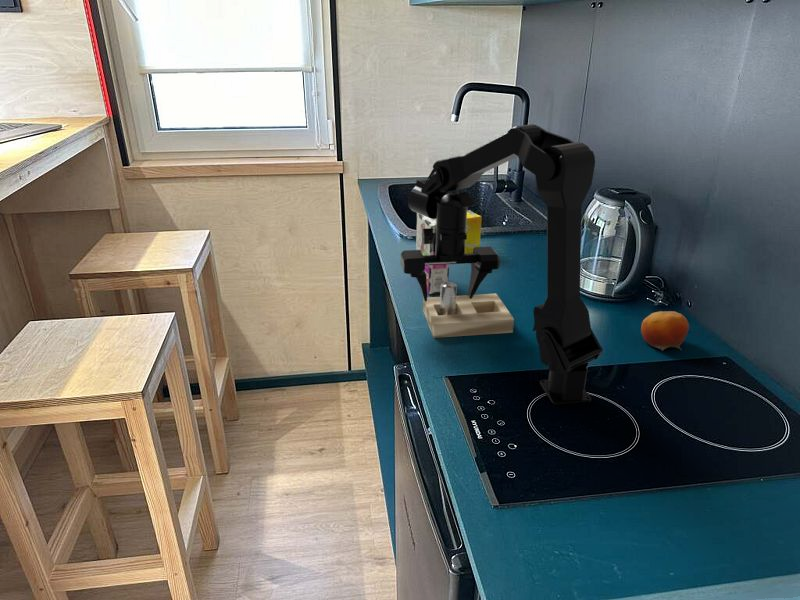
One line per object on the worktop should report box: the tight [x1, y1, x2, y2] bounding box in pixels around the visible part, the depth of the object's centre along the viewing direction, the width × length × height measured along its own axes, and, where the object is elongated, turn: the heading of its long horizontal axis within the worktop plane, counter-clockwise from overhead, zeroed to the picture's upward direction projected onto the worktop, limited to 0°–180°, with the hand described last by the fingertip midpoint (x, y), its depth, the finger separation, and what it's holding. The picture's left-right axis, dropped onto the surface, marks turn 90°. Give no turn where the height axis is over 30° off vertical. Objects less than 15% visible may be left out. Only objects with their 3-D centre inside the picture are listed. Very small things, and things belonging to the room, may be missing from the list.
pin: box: [439, 281, 458, 315], centre depth 114 cm, size 3×3×8 cm
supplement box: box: [465, 209, 483, 254], centre depth 149 cm, size 6×6×11 cm
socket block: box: [422, 293, 515, 339], centre depth 115 cm, size 12×16×3 cm
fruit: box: [640, 310, 690, 352], centre depth 106 cm, size 8×8×8 cm
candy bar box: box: [415, 213, 450, 295], centre depth 129 cm, size 11×5×16 cm, turn 15°
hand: (447, 299), depth 113 cm, fingers open, 9 cm apart
